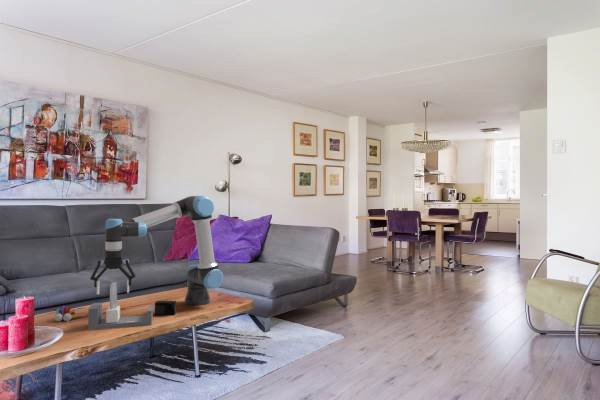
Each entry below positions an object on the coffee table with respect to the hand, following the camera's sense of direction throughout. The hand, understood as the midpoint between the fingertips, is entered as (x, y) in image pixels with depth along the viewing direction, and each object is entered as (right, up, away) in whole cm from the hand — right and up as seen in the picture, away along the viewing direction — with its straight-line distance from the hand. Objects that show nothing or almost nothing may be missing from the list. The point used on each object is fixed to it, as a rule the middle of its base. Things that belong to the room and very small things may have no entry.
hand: (113, 293), depth 203 cm
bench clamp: (+4, -16, +1) cm, 16 cm away
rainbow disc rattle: (-29, -16, +9) cm, 34 cm away
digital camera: (+20, -16, +19) cm, 31 cm away
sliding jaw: (0, -13, 0) cm, 13 cm away
